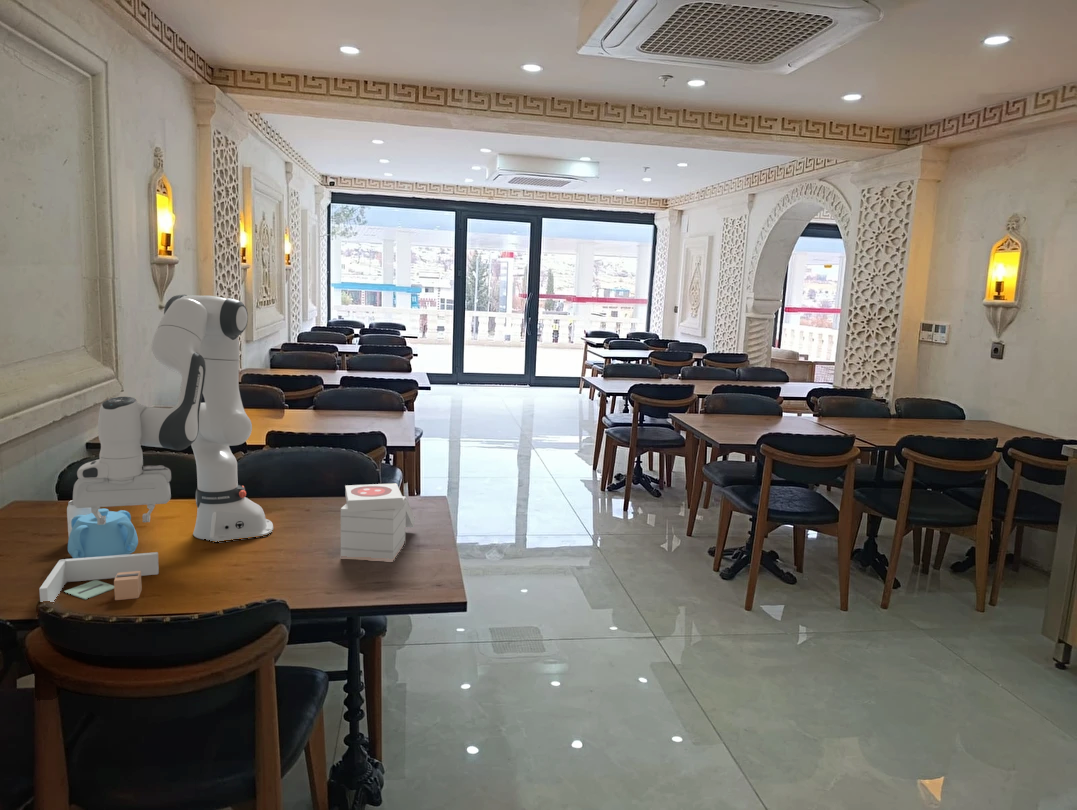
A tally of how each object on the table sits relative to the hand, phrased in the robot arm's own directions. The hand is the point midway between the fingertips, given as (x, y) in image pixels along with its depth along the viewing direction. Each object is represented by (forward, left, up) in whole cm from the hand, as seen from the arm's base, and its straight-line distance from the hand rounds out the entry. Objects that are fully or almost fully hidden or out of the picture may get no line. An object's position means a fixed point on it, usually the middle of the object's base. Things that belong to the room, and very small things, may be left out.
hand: (124, 522), depth 177 cm
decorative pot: (+10, -27, -19) cm, 34 cm away
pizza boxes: (-63, -20, -19) cm, 68 cm away
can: (+18, -41, -19) cm, 49 cm away
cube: (0, 0, -18) cm, 18 cm away
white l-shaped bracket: (+6, -4, -18) cm, 20 cm away
